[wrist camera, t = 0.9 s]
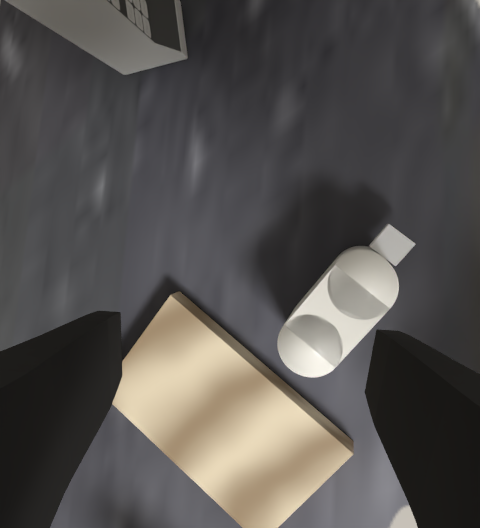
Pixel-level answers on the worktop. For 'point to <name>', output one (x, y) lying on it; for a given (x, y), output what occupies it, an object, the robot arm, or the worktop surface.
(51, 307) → the worktop surface
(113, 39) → the vintage mobile phone
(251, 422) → the birch board
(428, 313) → the worktop surface
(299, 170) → the worktop surface
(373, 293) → the capped bottle
